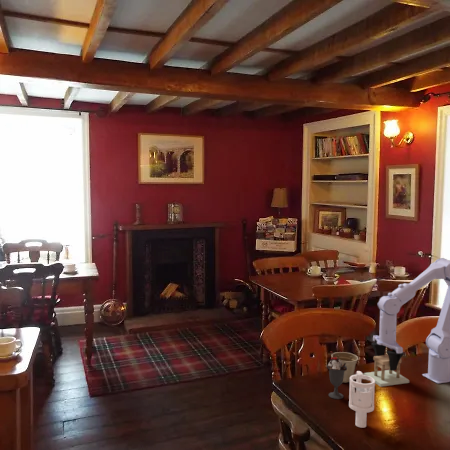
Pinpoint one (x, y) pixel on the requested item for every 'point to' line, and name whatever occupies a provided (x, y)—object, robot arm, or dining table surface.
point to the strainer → (361, 397)
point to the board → (387, 378)
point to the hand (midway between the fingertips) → (386, 366)
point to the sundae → (336, 375)
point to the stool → (384, 366)
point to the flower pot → (347, 363)
